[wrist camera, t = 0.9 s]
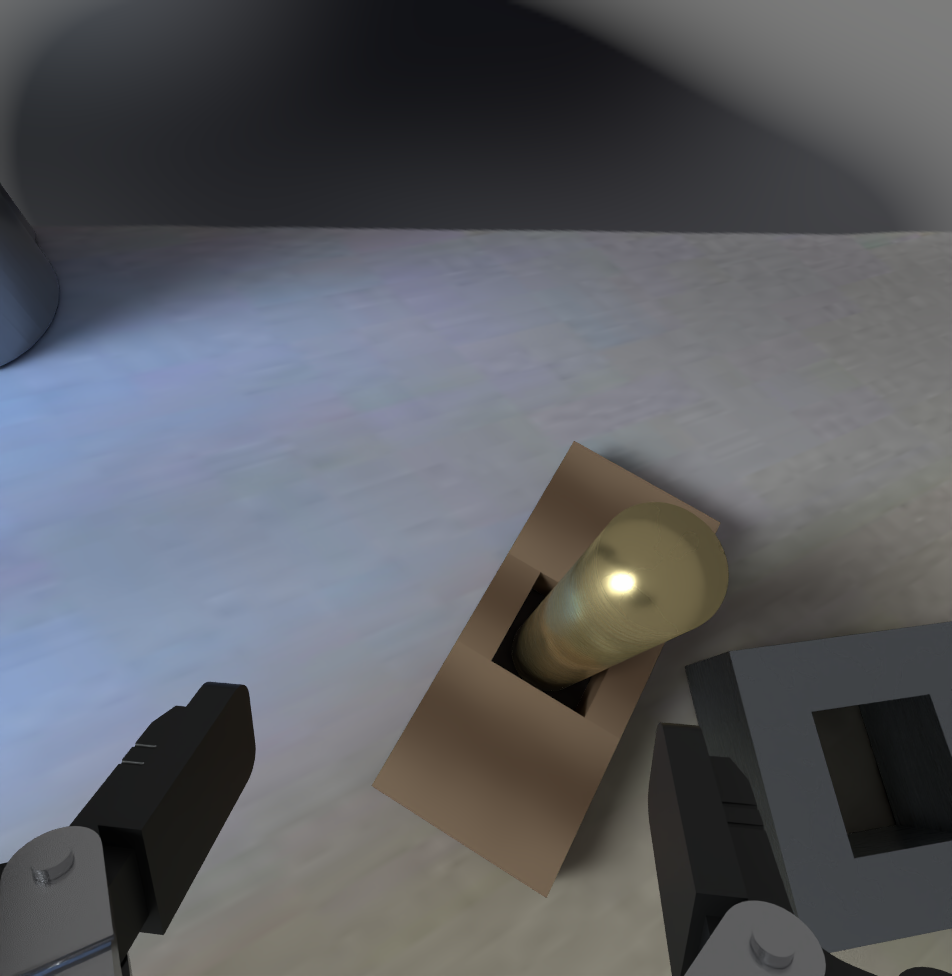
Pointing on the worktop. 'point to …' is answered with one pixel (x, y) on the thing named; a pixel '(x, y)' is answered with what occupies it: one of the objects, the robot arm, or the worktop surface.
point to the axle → (624, 596)
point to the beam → (524, 698)
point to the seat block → (807, 783)
